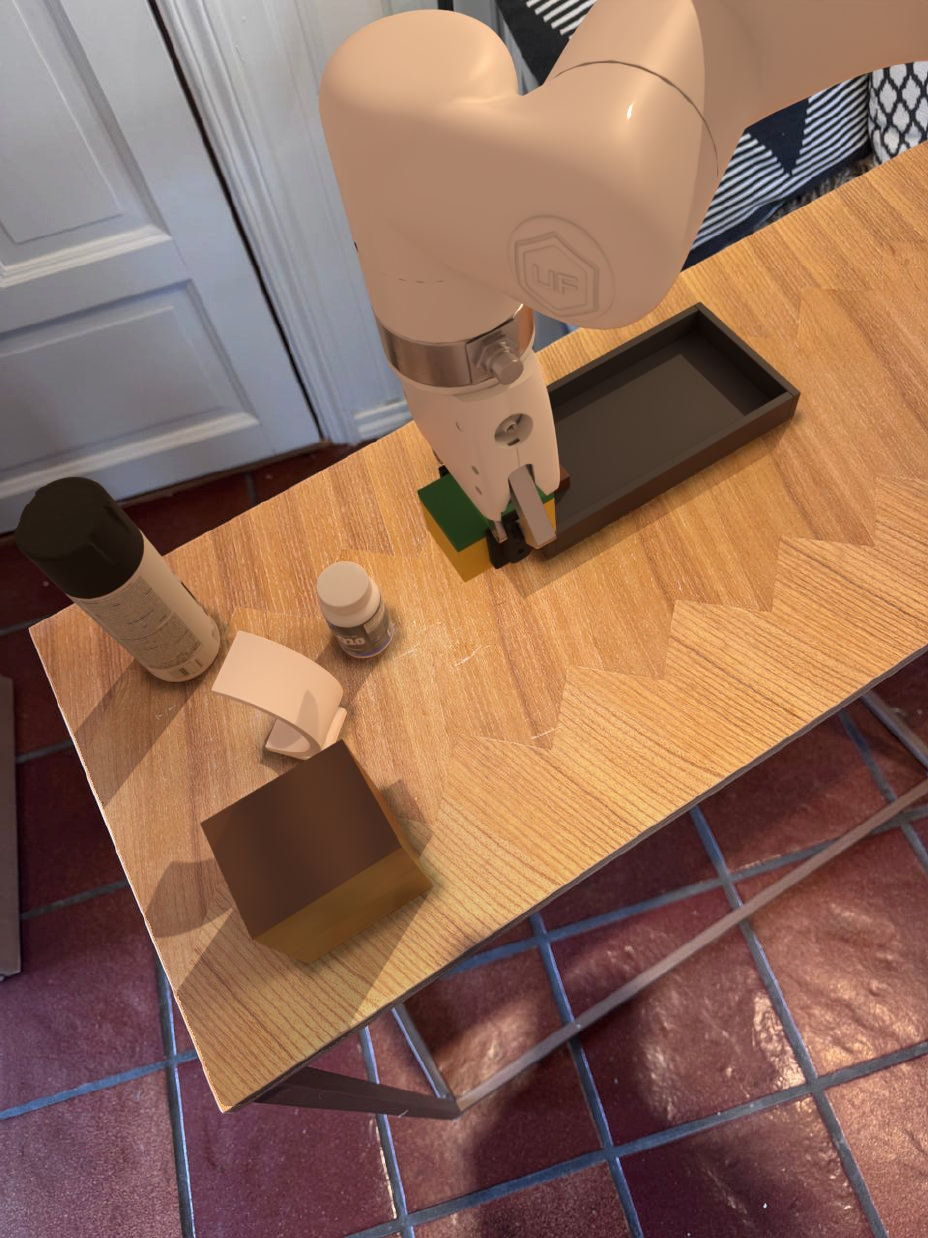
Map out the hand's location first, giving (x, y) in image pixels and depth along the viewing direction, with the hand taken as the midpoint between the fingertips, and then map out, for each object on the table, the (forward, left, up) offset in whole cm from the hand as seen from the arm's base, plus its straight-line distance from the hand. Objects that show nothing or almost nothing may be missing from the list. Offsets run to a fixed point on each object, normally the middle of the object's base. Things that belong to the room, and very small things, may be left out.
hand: (490, 523), depth 58 cm
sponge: (0, 0, -1) cm, 1 cm away
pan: (-16, -14, -15) cm, 26 cm away
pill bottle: (+11, -3, -15) cm, 19 cm away
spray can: (+26, -7, -15) cm, 31 cm away
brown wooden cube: (+17, +15, -15) cm, 27 cm away
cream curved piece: (+17, +4, -15) cm, 23 cm away
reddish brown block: (-7, -12, -15) cm, 20 cm away
